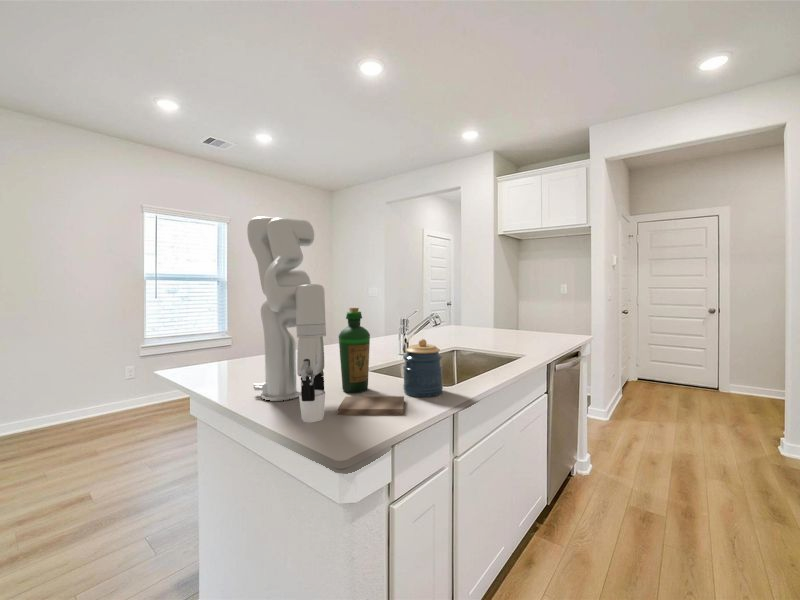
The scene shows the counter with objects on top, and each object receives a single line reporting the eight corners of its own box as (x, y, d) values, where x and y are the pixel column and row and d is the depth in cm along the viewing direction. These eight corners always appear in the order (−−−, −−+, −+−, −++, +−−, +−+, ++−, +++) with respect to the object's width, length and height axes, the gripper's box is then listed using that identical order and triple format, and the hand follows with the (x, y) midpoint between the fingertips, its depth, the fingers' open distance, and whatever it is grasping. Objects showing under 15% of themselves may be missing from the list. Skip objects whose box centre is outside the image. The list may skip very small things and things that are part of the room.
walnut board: (337, 414, 102) (337, 409, 102) (345, 401, 114) (345, 396, 114) (403, 414, 101) (403, 409, 101) (404, 401, 113) (404, 396, 113)
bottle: (364, 395, 120) (362, 308, 119) (334, 393, 123) (332, 308, 122) (375, 386, 130) (374, 307, 129) (347, 385, 133) (346, 307, 132)
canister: (451, 393, 121) (450, 339, 120) (418, 400, 114) (417, 343, 113) (427, 385, 132) (426, 335, 131) (396, 390, 125) (395, 338, 124)
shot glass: (329, 414, 102) (328, 389, 102) (321, 423, 95) (320, 396, 95) (304, 414, 103) (304, 388, 102) (295, 422, 96) (294, 396, 96)
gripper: (306, 329, 107) (308, 388, 107) (286, 334, 89) (288, 405, 89) (332, 328, 106) (334, 387, 106) (316, 333, 89) (319, 404, 89)
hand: (313, 395), depth 98 cm, fingers open, 9 cm apart
